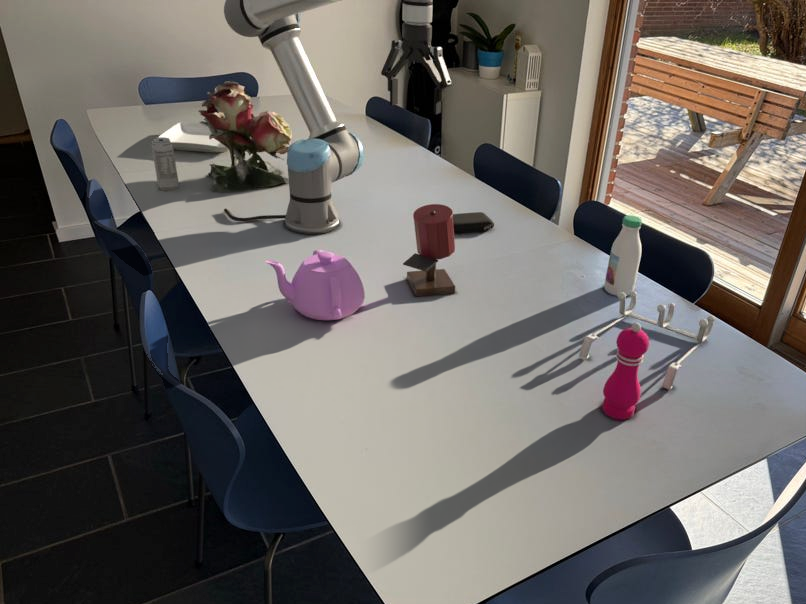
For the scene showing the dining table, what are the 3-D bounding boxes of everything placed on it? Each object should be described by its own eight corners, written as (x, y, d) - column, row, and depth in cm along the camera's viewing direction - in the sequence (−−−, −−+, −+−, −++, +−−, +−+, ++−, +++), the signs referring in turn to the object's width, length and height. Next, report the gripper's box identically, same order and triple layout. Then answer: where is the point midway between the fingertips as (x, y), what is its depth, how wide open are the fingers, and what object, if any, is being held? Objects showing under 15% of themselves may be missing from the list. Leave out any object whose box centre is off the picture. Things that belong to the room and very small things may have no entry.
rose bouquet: (303, 182, 239) (297, 88, 223) (215, 195, 224) (201, 95, 208) (275, 160, 256) (267, 71, 240) (190, 170, 242) (177, 76, 226)
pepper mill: (596, 399, 146) (613, 313, 135) (630, 399, 147) (650, 314, 136) (604, 421, 140) (622, 332, 129) (640, 421, 141) (661, 333, 130)
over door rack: (712, 338, 171) (722, 302, 166) (671, 394, 149) (681, 355, 144) (627, 310, 180) (635, 275, 174) (578, 359, 158) (584, 321, 153)
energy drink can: (179, 183, 230) (171, 136, 222) (179, 190, 226) (171, 142, 217) (158, 184, 228) (150, 136, 220) (158, 191, 224) (149, 142, 216)
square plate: (230, 157, 256) (229, 146, 253) (152, 151, 255) (151, 140, 253) (252, 136, 278) (251, 126, 276) (180, 130, 278) (179, 120, 275)
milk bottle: (635, 287, 191) (650, 216, 180) (630, 299, 185) (646, 226, 174) (606, 281, 193) (620, 210, 182) (601, 293, 187) (614, 220, 176)
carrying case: (451, 236, 210) (497, 232, 216) (452, 227, 209) (498, 222, 214) (439, 223, 218) (483, 219, 224) (439, 213, 217) (484, 209, 222)
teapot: (262, 293, 173) (257, 240, 166) (351, 282, 181) (350, 231, 174) (279, 339, 157) (274, 282, 149) (376, 325, 165) (376, 270, 157)
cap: (431, 236, 184) (427, 198, 177) (462, 245, 180) (460, 206, 173) (398, 263, 175) (393, 224, 168) (431, 273, 171) (427, 233, 164)
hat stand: (415, 296, 178) (417, 225, 168) (406, 278, 186) (408, 209, 176) (454, 293, 181) (459, 223, 171) (444, 275, 188) (447, 208, 178)
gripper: (467, 28, 181) (462, 114, 192) (383, 15, 190) (383, 98, 201) (453, 31, 175) (449, 120, 187) (367, 17, 184) (368, 103, 195)
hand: (415, 109), depth 194 cm, fingers open, 13 cm apart
